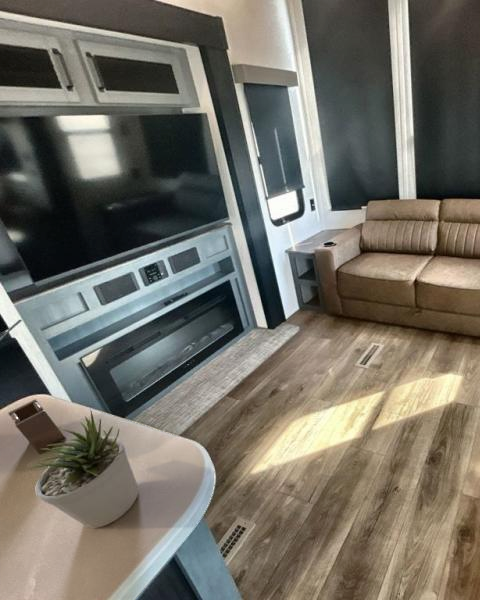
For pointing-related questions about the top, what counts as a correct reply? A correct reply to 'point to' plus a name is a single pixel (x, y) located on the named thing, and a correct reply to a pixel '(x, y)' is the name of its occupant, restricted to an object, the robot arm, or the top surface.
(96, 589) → the top surface
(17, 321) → the robot arm
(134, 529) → the top surface
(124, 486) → the potted plant
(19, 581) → the top surface
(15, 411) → the brown open box
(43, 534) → the top surface
